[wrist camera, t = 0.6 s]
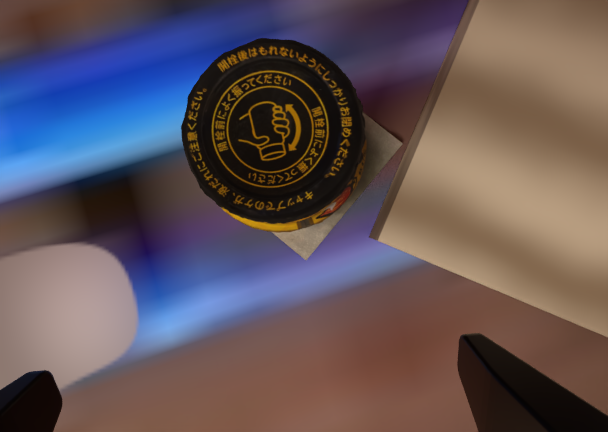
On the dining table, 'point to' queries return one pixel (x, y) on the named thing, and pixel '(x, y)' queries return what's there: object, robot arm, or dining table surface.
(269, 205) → the condiment
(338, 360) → the dining table surface
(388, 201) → the base board
